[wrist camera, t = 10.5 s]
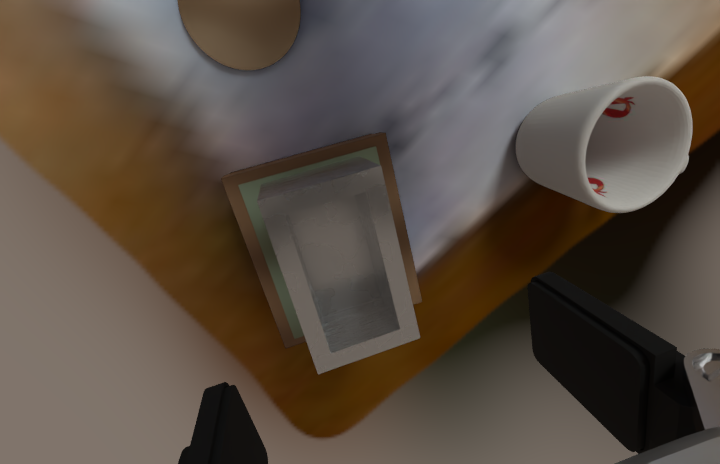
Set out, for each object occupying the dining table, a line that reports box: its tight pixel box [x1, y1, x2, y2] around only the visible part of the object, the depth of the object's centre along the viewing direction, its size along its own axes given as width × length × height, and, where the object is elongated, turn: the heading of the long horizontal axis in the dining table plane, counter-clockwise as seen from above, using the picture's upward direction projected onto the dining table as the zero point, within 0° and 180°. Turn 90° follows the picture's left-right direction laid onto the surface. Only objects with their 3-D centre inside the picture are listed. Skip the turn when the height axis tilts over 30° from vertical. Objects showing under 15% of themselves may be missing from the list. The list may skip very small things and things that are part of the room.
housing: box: [257, 156, 420, 374], centre depth 21 cm, size 10×6×5 cm, turn 14°
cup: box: [516, 76, 692, 213], centre depth 26 cm, size 11×8×8 cm
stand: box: [221, 132, 422, 348], centre depth 26 cm, size 12×10×4 cm
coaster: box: [178, 0, 301, 70], centre depth 22 cm, size 7×7×1 cm
